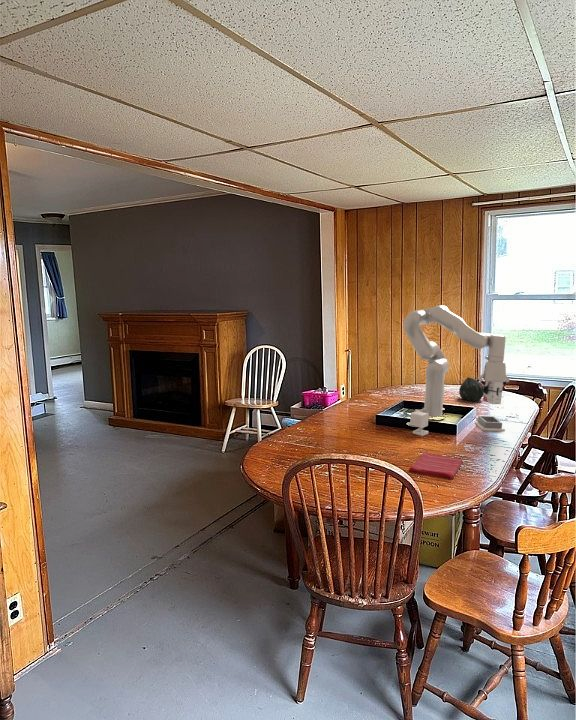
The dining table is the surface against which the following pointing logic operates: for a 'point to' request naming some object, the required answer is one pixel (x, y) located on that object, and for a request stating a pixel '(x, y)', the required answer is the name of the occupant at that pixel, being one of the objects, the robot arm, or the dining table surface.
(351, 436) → the dining table surface
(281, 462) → the dining table surface
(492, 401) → the ink box
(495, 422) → the dock board
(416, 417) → the security camera
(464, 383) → the squash
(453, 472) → the dish towel
